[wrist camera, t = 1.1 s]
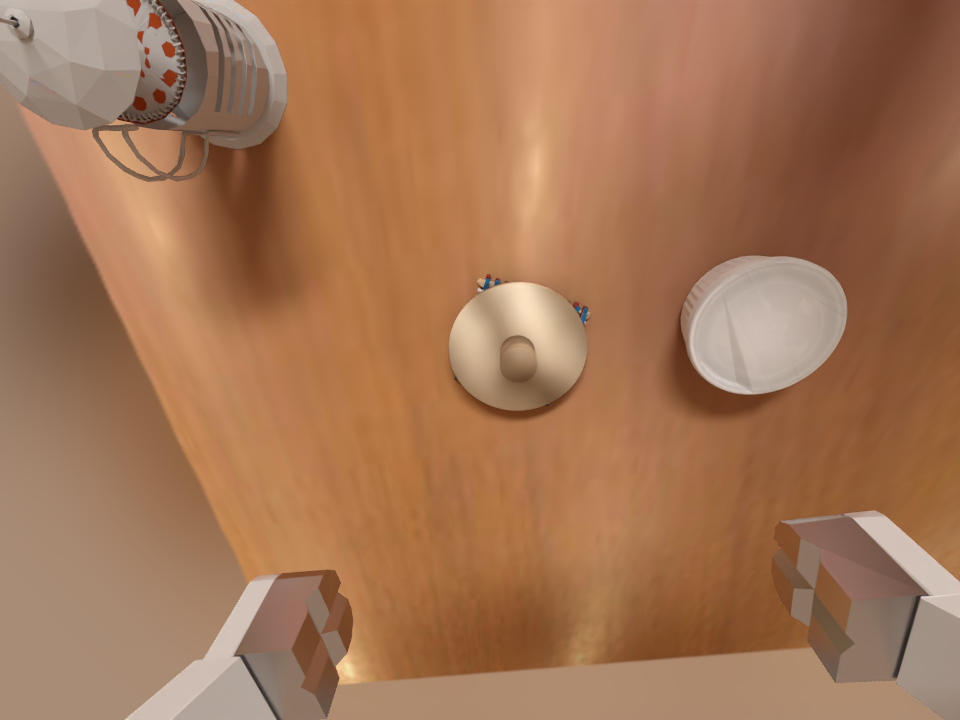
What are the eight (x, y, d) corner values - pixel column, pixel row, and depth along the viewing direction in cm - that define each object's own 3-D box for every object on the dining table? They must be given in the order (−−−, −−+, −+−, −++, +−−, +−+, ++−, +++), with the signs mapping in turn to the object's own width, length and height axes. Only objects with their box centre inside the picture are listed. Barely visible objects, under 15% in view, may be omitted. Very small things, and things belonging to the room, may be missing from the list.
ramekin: (640, 327, 40) (659, 351, 35) (735, 216, 35) (770, 226, 31) (734, 388, 42) (764, 419, 37) (834, 290, 38) (882, 311, 33)
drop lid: (523, 251, 36) (525, 261, 33) (613, 352, 39) (624, 371, 36) (422, 343, 40) (414, 361, 37) (511, 428, 43) (512, 452, 40)
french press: (272, -10, 31) (-375, -452, 8) (303, 173, 36) (-47, 214, 13) (135, -5, 31) (-828, -406, 9) (184, 175, 36) (-350, 217, 14)
